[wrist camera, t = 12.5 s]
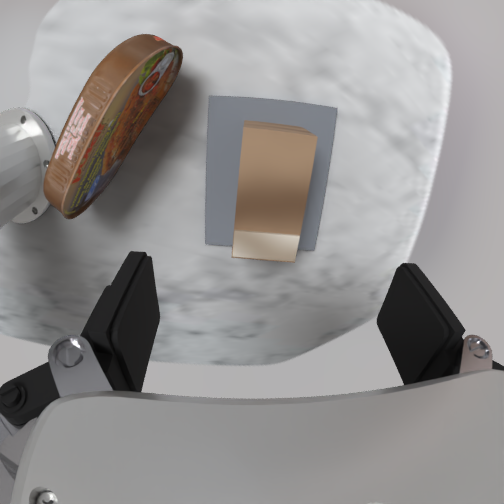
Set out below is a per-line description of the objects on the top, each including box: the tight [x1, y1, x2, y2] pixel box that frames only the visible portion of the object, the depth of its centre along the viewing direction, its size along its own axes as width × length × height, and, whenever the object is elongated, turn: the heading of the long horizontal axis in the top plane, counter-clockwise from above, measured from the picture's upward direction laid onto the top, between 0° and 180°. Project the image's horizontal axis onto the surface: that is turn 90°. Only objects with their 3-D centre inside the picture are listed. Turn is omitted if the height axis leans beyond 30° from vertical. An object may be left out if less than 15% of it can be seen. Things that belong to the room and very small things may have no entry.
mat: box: [205, 96, 337, 251], centre depth 24 cm, size 10×13×1 cm
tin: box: [43, 34, 183, 219], centre depth 18 cm, size 15×3×8 cm, turn 141°
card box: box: [232, 120, 318, 263], centre depth 21 cm, size 9×4×6 cm, turn 174°
